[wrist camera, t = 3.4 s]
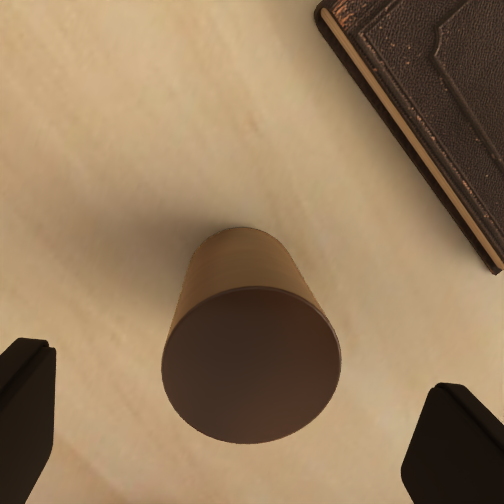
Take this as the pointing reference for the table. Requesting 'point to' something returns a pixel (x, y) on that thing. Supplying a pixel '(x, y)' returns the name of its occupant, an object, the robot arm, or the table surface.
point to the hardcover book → (435, 96)
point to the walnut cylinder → (248, 342)
